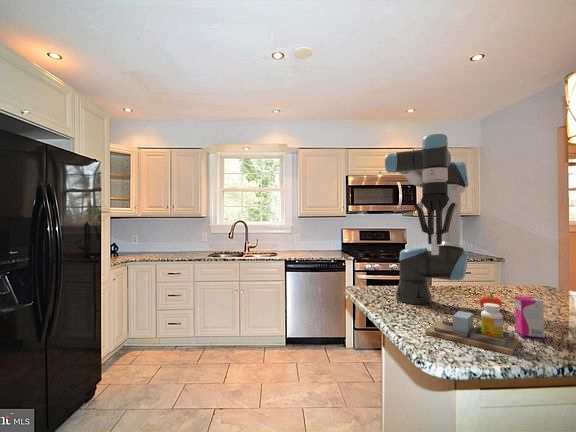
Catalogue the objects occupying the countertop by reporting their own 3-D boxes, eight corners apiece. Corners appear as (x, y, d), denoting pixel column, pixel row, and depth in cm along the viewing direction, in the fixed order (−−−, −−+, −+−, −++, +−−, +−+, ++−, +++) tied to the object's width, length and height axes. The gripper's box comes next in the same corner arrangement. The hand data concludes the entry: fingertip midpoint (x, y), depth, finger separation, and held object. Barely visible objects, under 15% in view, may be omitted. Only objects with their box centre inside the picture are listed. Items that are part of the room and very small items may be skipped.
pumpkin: (476, 307, 127) (475, 291, 128) (497, 309, 126) (496, 292, 126) (483, 310, 120) (482, 293, 121) (506, 311, 119) (505, 294, 120)
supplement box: (536, 332, 97) (536, 296, 97) (545, 339, 92) (544, 301, 92) (514, 330, 99) (514, 295, 99) (521, 337, 93) (521, 299, 94)
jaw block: (452, 332, 93) (452, 315, 93) (458, 326, 98) (458, 310, 98) (467, 335, 90) (467, 318, 90) (473, 329, 95) (473, 313, 96)
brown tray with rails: (425, 334, 95) (425, 325, 96) (438, 324, 105) (438, 316, 105) (512, 355, 81) (512, 344, 81) (518, 341, 90) (518, 331, 90)
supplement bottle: (476, 335, 92) (476, 302, 92) (493, 334, 92) (493, 302, 92) (490, 342, 86) (489, 307, 87) (507, 341, 87) (507, 307, 87)
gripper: (410, 183, 102) (410, 254, 102) (453, 179, 93) (454, 257, 93) (418, 185, 108) (418, 252, 107) (459, 181, 99) (460, 255, 98)
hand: (435, 254), depth 100 cm, fingers closed
